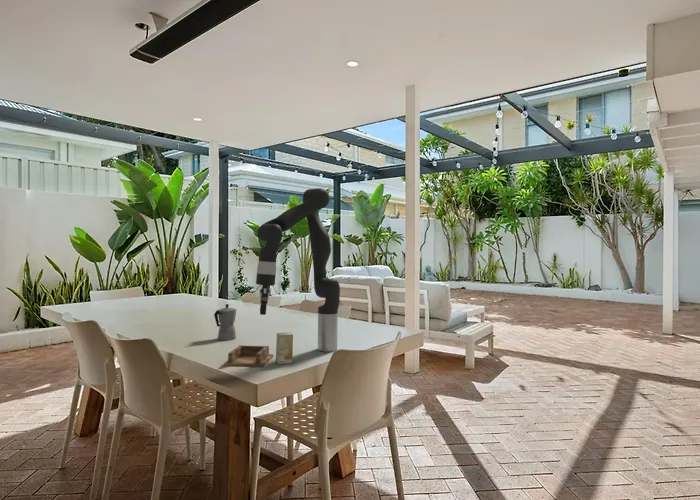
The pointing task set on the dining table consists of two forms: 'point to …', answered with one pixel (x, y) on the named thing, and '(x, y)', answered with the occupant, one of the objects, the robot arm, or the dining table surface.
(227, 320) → the coffeepot
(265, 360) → the wooden tray
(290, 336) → the skincare box
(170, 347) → the dining table surface
